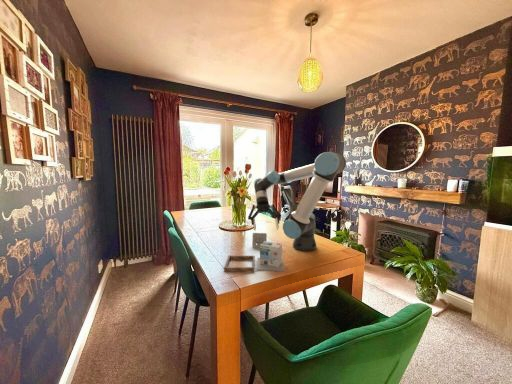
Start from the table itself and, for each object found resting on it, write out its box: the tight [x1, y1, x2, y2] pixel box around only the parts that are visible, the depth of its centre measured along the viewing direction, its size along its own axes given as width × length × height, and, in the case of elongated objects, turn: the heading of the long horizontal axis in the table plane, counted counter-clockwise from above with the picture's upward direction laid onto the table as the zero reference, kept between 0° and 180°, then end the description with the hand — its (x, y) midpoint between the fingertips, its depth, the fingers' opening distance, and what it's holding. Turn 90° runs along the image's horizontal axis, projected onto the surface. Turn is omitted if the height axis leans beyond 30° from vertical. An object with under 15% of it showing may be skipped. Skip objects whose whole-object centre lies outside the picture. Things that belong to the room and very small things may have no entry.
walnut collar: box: [223, 254, 256, 273], centre depth 115 cm, size 15×15×2 cm
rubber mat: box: [256, 257, 285, 272], centre depth 116 cm, size 14×14×1 cm
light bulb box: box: [259, 241, 283, 267], centre depth 115 cm, size 11×7×11 cm, turn 68°
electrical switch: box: [252, 232, 268, 249], centre depth 141 cm, size 9×5×9 cm, turn 86°
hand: (266, 228), depth 124 cm, fingers open, 13 cm apart
